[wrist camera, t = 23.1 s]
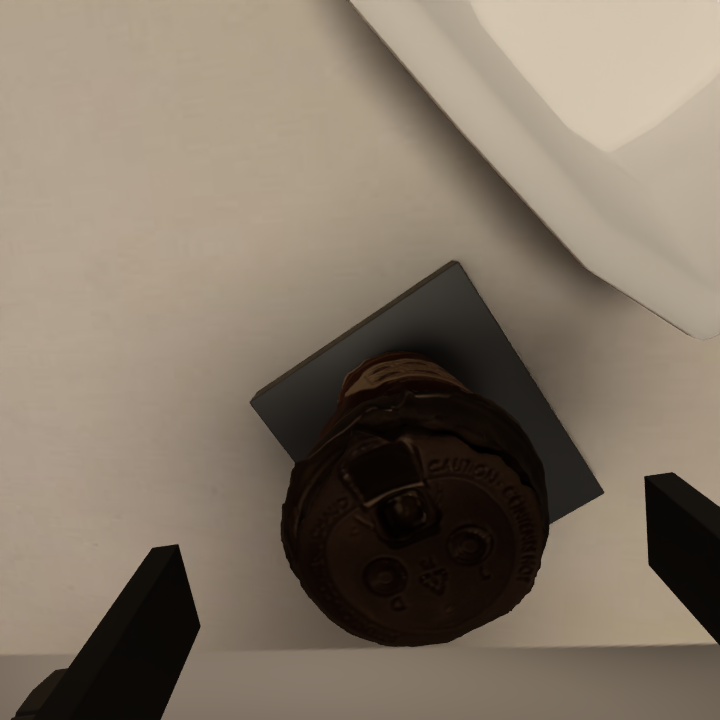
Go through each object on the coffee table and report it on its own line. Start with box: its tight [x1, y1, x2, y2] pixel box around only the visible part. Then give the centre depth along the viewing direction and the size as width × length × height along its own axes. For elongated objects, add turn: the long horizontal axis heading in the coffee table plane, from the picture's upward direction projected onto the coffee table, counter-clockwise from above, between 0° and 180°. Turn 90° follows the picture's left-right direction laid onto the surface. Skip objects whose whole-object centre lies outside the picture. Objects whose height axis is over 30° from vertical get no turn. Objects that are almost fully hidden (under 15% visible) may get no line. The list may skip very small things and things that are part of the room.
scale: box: [250, 261, 604, 524], centre depth 28 cm, size 15×13×4 cm
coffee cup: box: [281, 351, 550, 647], centre depth 21 cm, size 9×8×13 cm
